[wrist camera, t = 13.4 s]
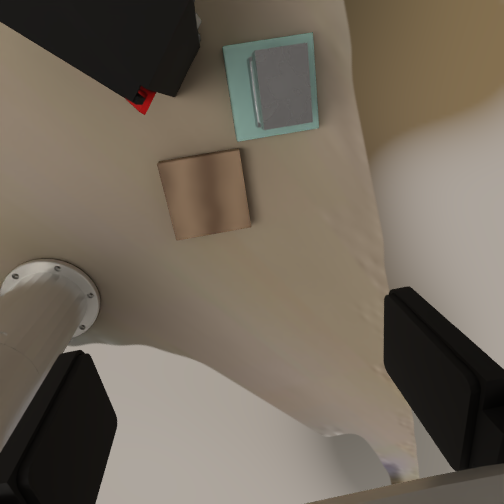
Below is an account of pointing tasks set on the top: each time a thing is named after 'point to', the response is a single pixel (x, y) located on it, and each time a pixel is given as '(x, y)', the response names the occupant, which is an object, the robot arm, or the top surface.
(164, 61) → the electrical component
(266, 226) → the top surface
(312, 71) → the stand
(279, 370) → the top surface
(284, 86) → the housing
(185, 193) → the stand
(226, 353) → the top surface
